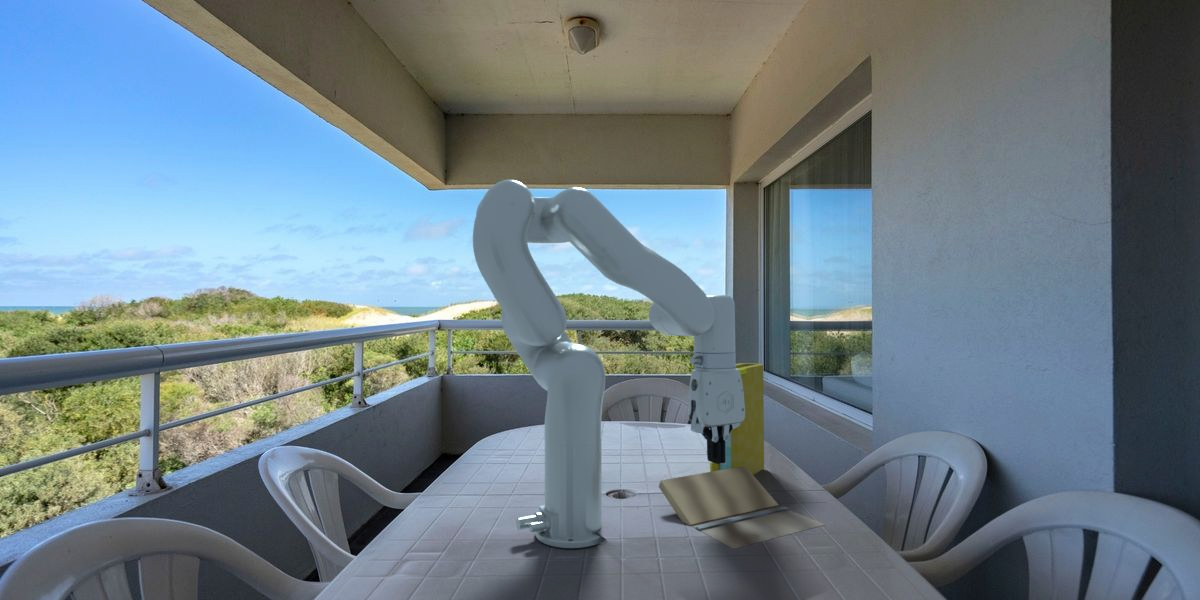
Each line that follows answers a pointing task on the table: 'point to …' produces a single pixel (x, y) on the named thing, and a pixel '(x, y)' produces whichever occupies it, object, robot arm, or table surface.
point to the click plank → (715, 495)
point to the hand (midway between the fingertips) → (716, 461)
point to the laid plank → (757, 526)
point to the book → (747, 425)
